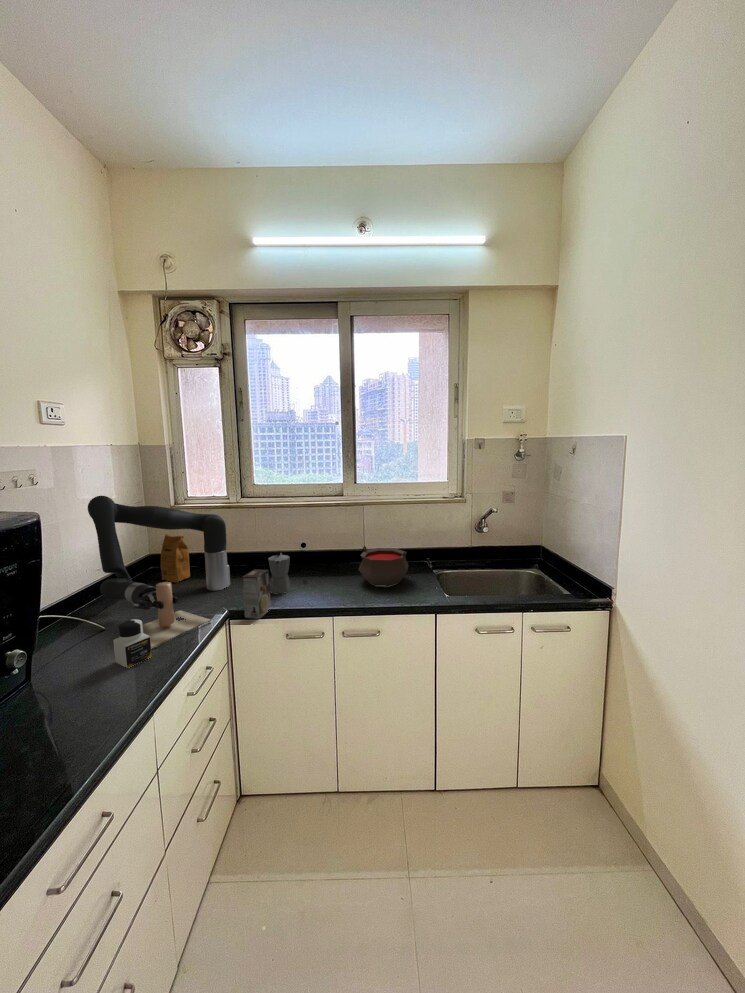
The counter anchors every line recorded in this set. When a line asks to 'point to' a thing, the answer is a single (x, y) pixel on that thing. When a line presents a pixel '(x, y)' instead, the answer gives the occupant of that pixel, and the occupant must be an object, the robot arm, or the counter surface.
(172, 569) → the coffee package
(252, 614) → the coffee box
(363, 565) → the brown cooking pot
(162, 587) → the terracotta canister
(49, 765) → the counter surface
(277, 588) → the coffeepot
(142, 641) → the medicine bottle
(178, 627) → the ash board
